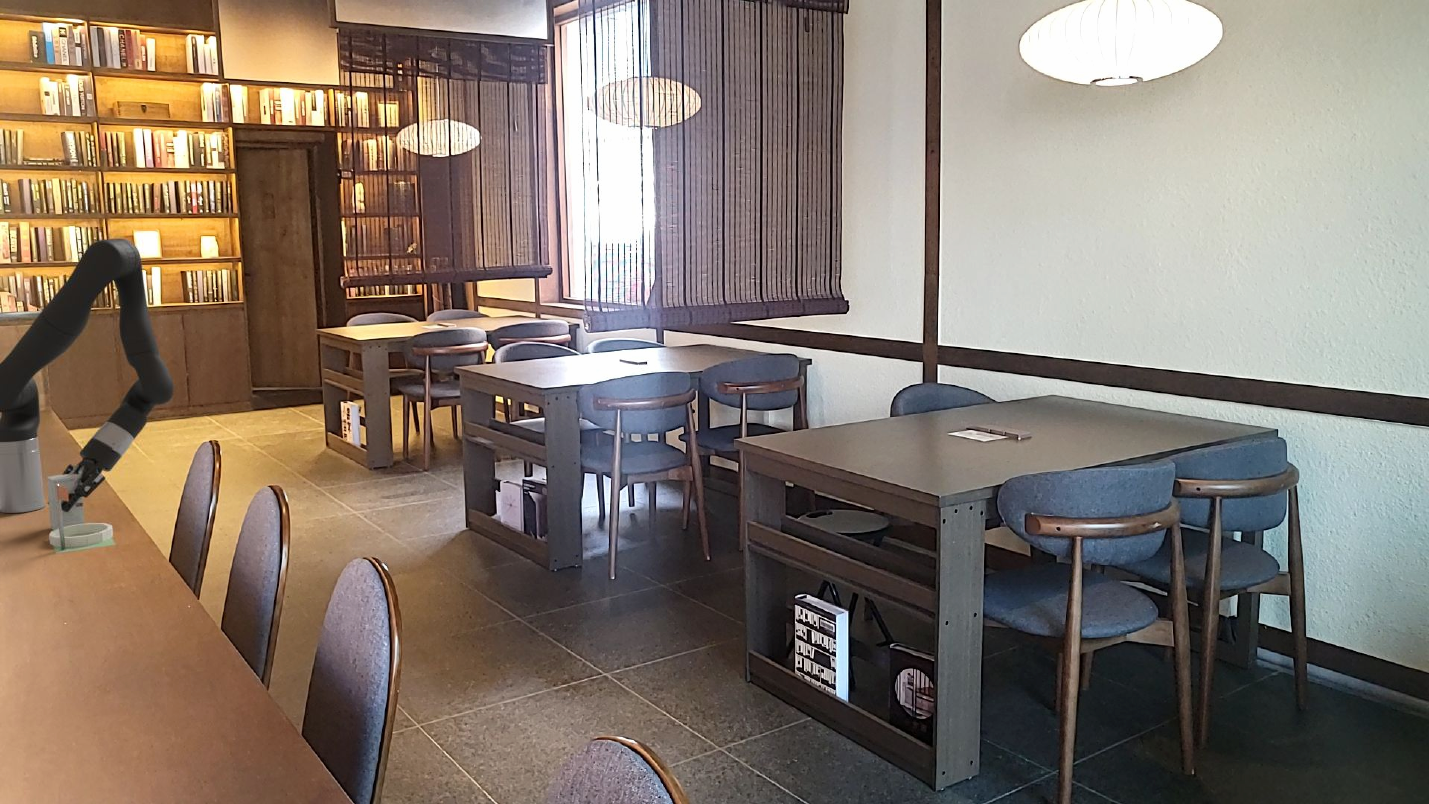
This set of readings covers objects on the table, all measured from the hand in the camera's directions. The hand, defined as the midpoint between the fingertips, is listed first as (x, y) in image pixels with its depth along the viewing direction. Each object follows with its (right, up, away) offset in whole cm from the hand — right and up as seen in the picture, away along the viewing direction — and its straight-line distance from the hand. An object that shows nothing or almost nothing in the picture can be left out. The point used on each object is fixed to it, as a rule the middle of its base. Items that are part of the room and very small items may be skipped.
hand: (57, 507), depth 246 cm
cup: (+10, -6, -8) cm, 14 cm away
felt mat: (+10, -6, -8) cm, 14 cm away
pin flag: (+12, -7, -17) cm, 22 cm away
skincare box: (+1, -5, +2) cm, 6 cm away
